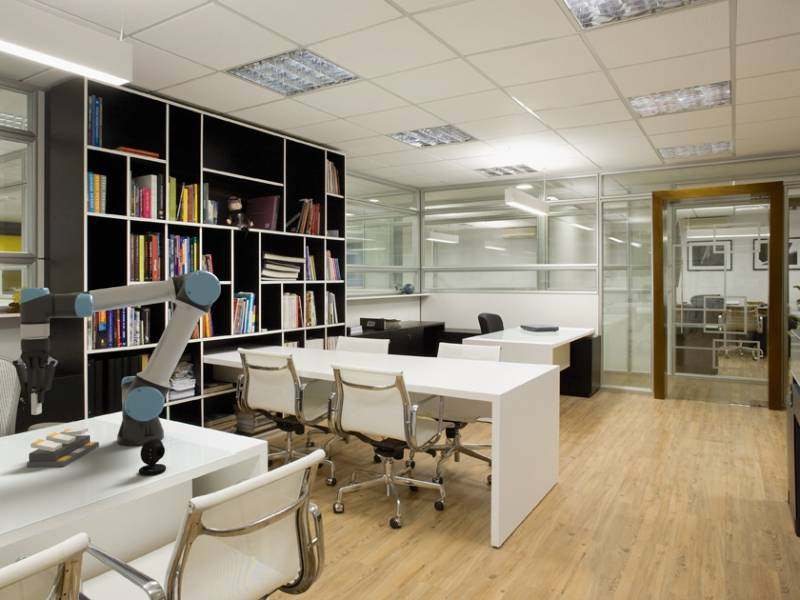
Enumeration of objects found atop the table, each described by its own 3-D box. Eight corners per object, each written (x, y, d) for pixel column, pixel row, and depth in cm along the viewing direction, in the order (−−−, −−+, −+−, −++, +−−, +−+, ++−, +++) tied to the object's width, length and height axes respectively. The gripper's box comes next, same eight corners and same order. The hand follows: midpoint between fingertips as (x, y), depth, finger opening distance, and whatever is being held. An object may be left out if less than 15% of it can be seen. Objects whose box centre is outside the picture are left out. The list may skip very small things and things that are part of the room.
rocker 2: (75, 440, 182) (76, 436, 182) (67, 444, 177) (68, 440, 177) (53, 436, 182) (54, 432, 182) (45, 440, 177) (46, 435, 177)
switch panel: (99, 446, 190) (98, 434, 190) (63, 466, 169) (63, 453, 169) (66, 446, 190) (66, 435, 190) (27, 467, 169) (26, 454, 169)
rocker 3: (88, 430, 190) (87, 427, 190) (81, 434, 185) (80, 430, 185) (67, 432, 189) (67, 428, 189) (60, 436, 185) (59, 432, 185)
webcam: (152, 477, 160) (151, 443, 160) (132, 474, 163) (131, 440, 162) (172, 469, 167) (171, 436, 167) (152, 466, 170) (152, 433, 169)
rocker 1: (61, 447, 174) (62, 443, 174) (53, 451, 170) (54, 447, 170) (39, 443, 174) (40, 438, 174) (30, 447, 170) (31, 442, 170)
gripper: (63, 336, 175) (65, 410, 175) (21, 336, 174) (23, 411, 175) (49, 338, 167) (50, 416, 168) (5, 338, 167) (6, 416, 167)
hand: (36, 413), depth 171 cm, fingers closed
